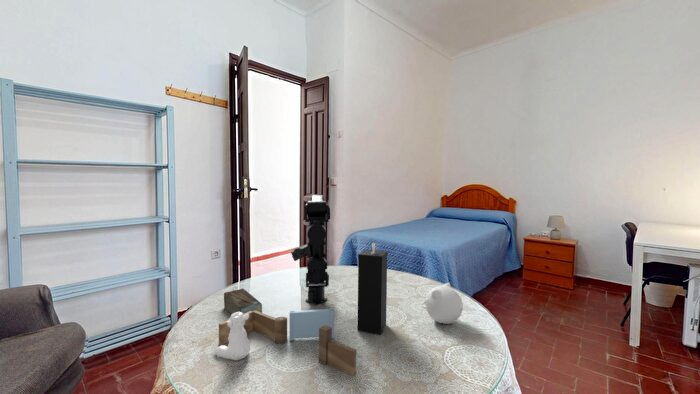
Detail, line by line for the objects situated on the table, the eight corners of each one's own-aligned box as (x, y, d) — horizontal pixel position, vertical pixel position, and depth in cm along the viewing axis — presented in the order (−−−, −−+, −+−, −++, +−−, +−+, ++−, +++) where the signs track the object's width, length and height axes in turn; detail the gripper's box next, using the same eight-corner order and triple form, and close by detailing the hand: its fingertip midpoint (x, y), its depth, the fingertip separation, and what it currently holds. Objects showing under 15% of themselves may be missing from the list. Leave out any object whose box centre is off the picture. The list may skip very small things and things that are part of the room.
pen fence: (257, 326, 99) (257, 299, 99) (360, 369, 76) (360, 334, 76) (218, 343, 88) (218, 313, 87) (326, 400, 65) (326, 359, 65)
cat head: (453, 336, 93) (454, 297, 93) (416, 323, 102) (416, 287, 102) (471, 321, 105) (472, 286, 104) (436, 310, 113) (437, 278, 113)
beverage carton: (240, 326, 99) (240, 306, 99) (223, 308, 114) (223, 291, 114) (262, 319, 104) (262, 301, 104) (243, 303, 119) (243, 287, 119)
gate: (289, 340, 89) (289, 313, 89) (289, 337, 91) (289, 310, 91) (333, 338, 91) (334, 311, 91) (333, 335, 93) (333, 308, 92)
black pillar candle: (386, 324, 101) (387, 241, 100) (381, 335, 94) (382, 245, 93) (363, 320, 104) (365, 239, 103) (357, 331, 96) (358, 243, 95)
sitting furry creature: (246, 342, 89) (246, 302, 88) (261, 354, 83) (261, 310, 82) (213, 354, 82) (213, 311, 82) (226, 368, 76) (226, 321, 76)
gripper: (294, 233, 110) (293, 276, 111) (290, 243, 92) (290, 294, 92) (324, 233, 112) (324, 275, 112) (327, 242, 93) (327, 292, 94)
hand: (316, 283), depth 103 cm, fingers closed
